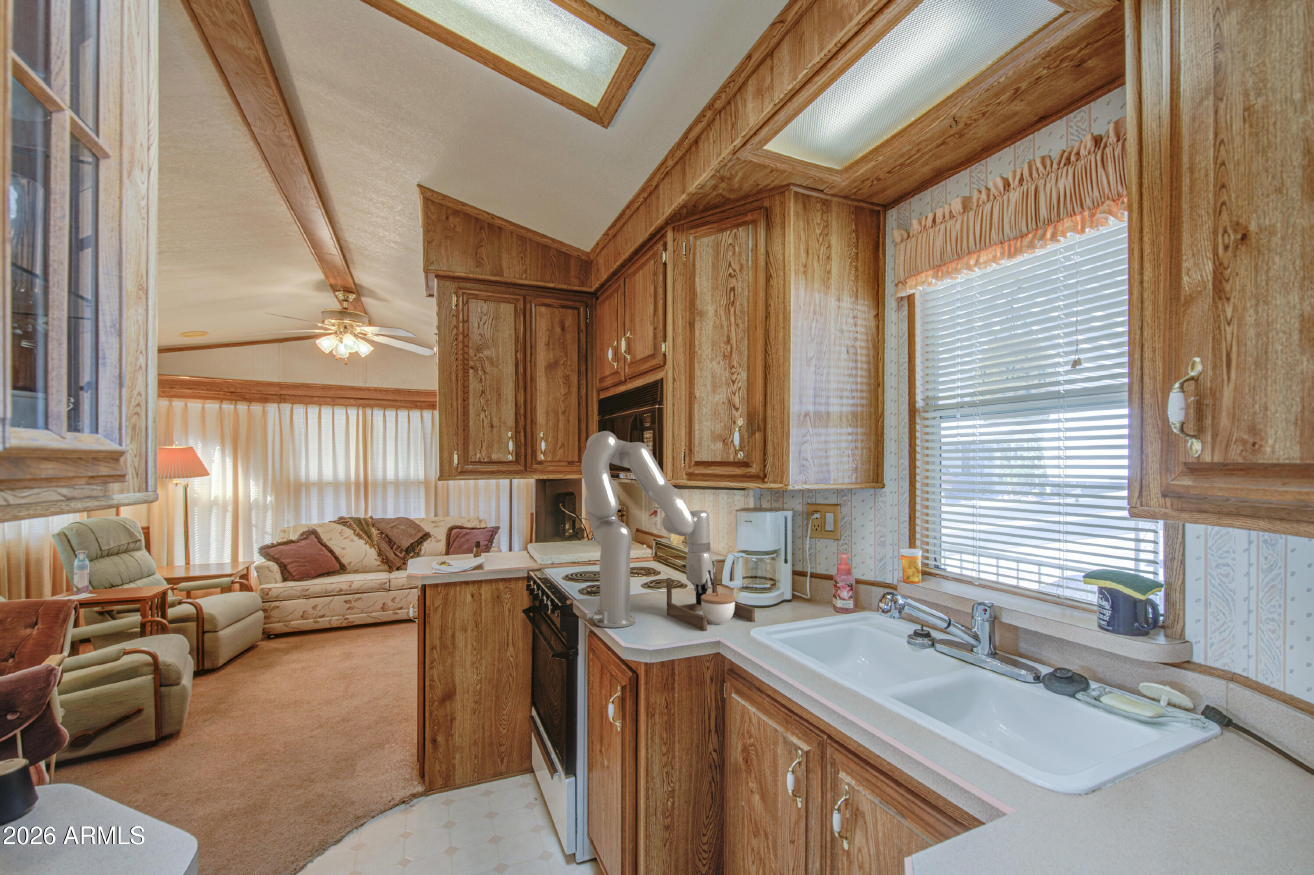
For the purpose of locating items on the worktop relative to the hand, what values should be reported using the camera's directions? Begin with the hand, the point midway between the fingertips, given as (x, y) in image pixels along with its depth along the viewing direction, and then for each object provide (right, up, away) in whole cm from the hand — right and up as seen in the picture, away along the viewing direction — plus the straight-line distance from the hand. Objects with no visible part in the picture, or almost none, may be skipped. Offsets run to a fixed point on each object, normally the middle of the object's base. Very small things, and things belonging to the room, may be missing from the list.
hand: (701, 604), depth 183 cm
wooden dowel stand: (+2, -3, -6) cm, 7 cm away
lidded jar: (+4, -3, -10) cm, 11 cm away
